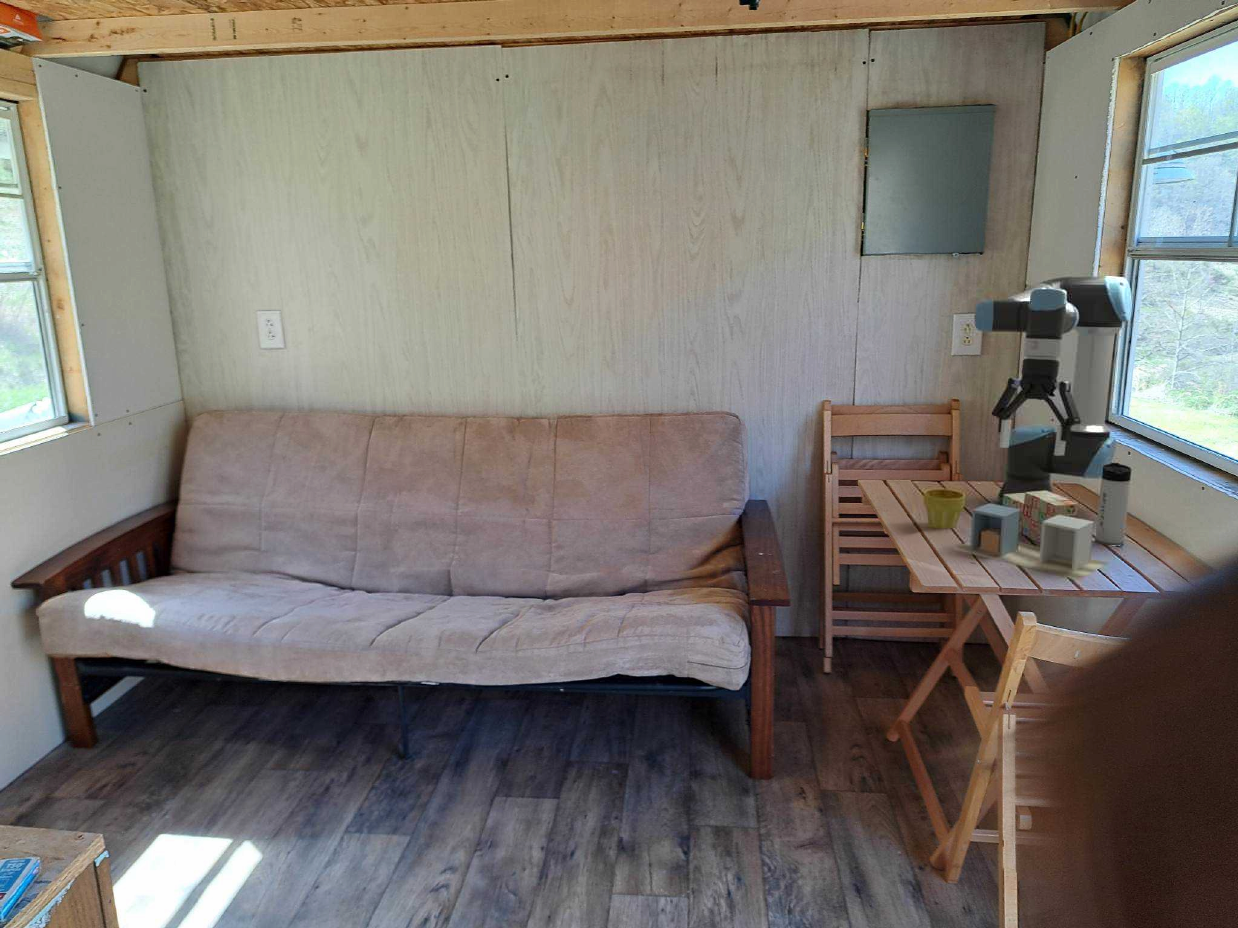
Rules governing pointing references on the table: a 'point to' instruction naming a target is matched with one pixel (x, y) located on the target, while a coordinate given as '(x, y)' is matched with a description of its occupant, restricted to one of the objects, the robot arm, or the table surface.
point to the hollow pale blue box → (996, 526)
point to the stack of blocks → (1038, 510)
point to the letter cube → (991, 540)
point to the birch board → (1037, 560)
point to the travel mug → (1113, 504)
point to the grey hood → (1066, 540)
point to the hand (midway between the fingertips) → (1030, 451)
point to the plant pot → (943, 507)
